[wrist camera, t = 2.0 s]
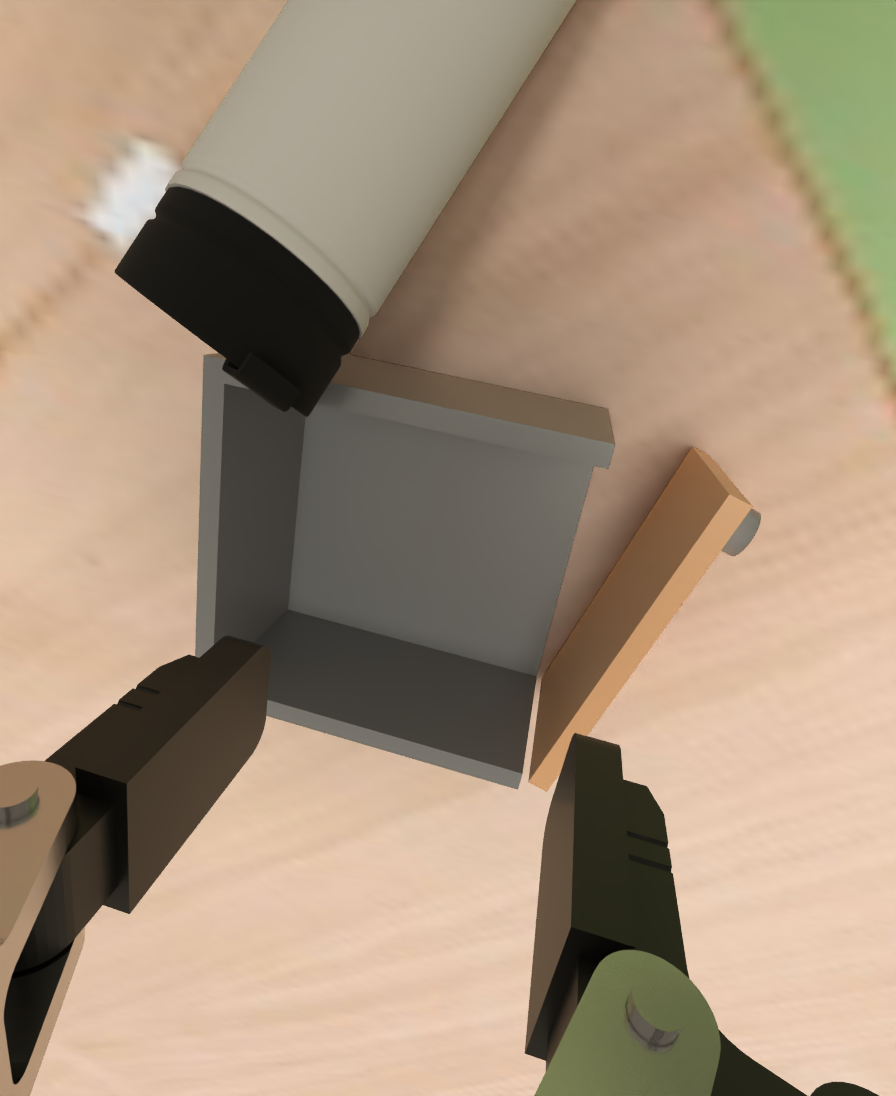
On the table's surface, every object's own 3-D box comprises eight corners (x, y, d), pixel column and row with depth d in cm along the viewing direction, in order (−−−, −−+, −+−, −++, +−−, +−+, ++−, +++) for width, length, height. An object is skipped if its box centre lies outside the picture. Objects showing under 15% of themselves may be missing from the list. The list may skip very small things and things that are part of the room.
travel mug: (705, -110, 19) (346, 455, 18) (537, -62, 23) (241, 399, 22) (646, -438, 14) (155, 318, 13) (447, -303, 18) (65, 278, 18)
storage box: (608, 408, 27) (615, 444, 20) (534, 681, 32) (518, 789, 25) (302, 344, 29) (203, 354, 21) (279, 612, 34) (194, 694, 27)
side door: (739, 471, 26) (793, 527, 19) (581, 699, 32) (578, 808, 25) (692, 446, 26) (729, 494, 19) (541, 678, 32) (528, 781, 25)
